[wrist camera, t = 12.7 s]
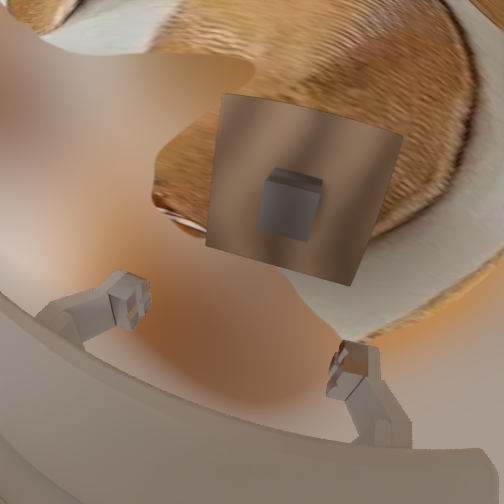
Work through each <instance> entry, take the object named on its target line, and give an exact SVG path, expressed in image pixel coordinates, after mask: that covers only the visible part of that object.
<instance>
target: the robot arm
mask: <svg viewBox="0 0 504 504" xmlns="http://www.w3.org/2000/svg"><path fill="white" fill-rule="evenodd" d="M149 288H150V281H148V280H147V279H145V278H142V277H140V276H137V275H135V274H132V273H130V272H127V271H124V270H122V269H118V270H116V271H115V272H114V273H113V274H112V275H111V276H110V277H109V278H108V279H107V280H106V281H104V282H103V283H102V285H100V286H99V287H98V288H97V289H96V288H92V289H89V290H86V291H83V292H80V293H76V294H73V295H70V296H67V297H63V298H60V299H57V300H54V301H51V302H50V303H49V304H48V305H47V306H45V307H44V308H43V309H42V311H40V312H39V313H38V314H37V315H36V316H35V317H32V316H31V315H30V314H28V313H27V312H26V311H24V310H23V309H21V308H20V307H19V306H18V305H16V304H15V303H14V302H12V301H11V300H10V299H9V298H7V297H6V296H5V295H3V293H1V292H0V504H499V477H498V472H497V470H496V468H495V466H494V464H493V463H492V461H491V460H490V458H489V457H488V455H487V454H486V453H485V452H484V451H483V450H482V449H480V448H468V449H443V450H442V449H437V450H436V449H434V450H433V449H432V450H431V449H428V450H427V449H412V422H411V421H410V419H409V418H408V416H407V415H406V413H405V411H404V410H403V408H402V407H401V405H400V404H399V402H398V401H397V399H396V398H395V396H394V395H393V393H392V392H391V390H390V389H389V387H388V386H387V384H386V383H385V381H384V380H381V372H380V352H379V348H378V347H374V346H370V345H365V344H361V343H356V342H352V341H348V340H343V341H342V342H341V343H340V345H339V351H338V352H336V353H335V354H334V356H333V358H332V361H331V363H330V367H329V376H330V380H329V381H328V383H327V390H326V397H329V398H334V399H338V400H342V401H345V404H346V406H347V408H348V411H349V413H350V415H351V418H352V420H353V422H354V425H355V427H356V429H357V431H358V434H359V437H357V439H355V440H354V441H353V442H351V443H344V442H338V441H332V440H326V439H320V438H315V437H310V436H305V435H301V434H296V433H292V432H288V431H283V430H279V429H275V428H271V427H268V426H264V425H260V424H256V423H253V422H250V421H246V420H243V419H240V418H237V417H233V416H230V415H227V414H224V413H221V412H218V411H215V410H213V409H210V408H207V407H204V406H201V405H199V404H196V403H193V402H191V401H188V400H186V399H183V398H181V397H178V396H176V395H173V394H171V393H169V392H166V391H164V390H161V389H159V388H157V387H155V386H153V385H150V384H148V383H146V382H144V381H142V380H140V379H138V378H135V377H133V376H131V375H129V374H127V373H125V372H123V371H121V370H119V369H118V368H116V367H114V366H112V365H110V364H108V363H106V362H104V361H102V360H101V359H99V358H97V357H95V356H93V355H92V354H90V353H88V352H86V350H85V348H84V346H83V342H85V341H87V340H89V339H91V338H93V337H95V336H97V335H99V334H101V333H103V332H105V331H107V330H109V329H111V328H113V327H115V326H119V327H121V328H123V329H126V330H128V331H130V332H132V331H133V330H134V329H135V327H136V326H137V325H138V323H139V317H141V316H144V315H145V314H146V313H147V312H148V310H149V308H150V305H151V294H150V293H149V292H148V289H149Z"/></svg>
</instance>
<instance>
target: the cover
mask: <svg viewBox="0 0 504 504" xmlns="http://www.w3.org/2000/svg"><path fill="white" fill-rule="evenodd" d="M402 139H403V136H401V135H399V134H397V133H394V132H391V131H388V130H385V129H382V128H379V127H376V126H373V125H370V124H367V123H364V122H360V121H357V120H354V119H350V118H347V117H343V116H340V115H336V114H332V113H328V112H325V111H321V110H316V109H312V108H308V107H303V106H299V105H294V104H289V103H284V102H279V101H274V100H268V99H263V98H257V97H250V96H243V95H236V94H228V93H223V94H222V101H221V108H220V115H219V123H218V130H217V138H216V146H215V154H214V163H213V172H212V181H211V190H210V200H209V210H208V221H207V232H206V246H208V247H212V248H215V249H218V250H222V251H225V252H229V253H233V254H236V255H240V256H243V257H247V258H250V259H254V260H258V261H261V262H264V263H268V264H271V265H275V266H278V267H282V268H286V269H289V270H293V271H296V272H300V273H303V274H307V275H310V276H314V277H318V278H321V279H325V280H328V281H332V282H336V283H339V284H343V285H346V286H351V283H352V281H353V279H354V276H355V274H356V272H357V269H358V267H359V264H360V262H361V260H362V257H363V255H364V252H365V250H366V247H367V245H368V242H369V239H370V237H371V234H372V232H373V229H374V226H375V224H376V221H377V218H378V215H379V212H380V210H381V207H382V204H383V201H384V198H385V195H386V192H387V189H388V186H389V183H390V180H391V177H392V174H393V170H394V167H395V164H396V160H397V157H398V154H399V150H400V147H401V143H402Z"/></svg>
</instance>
